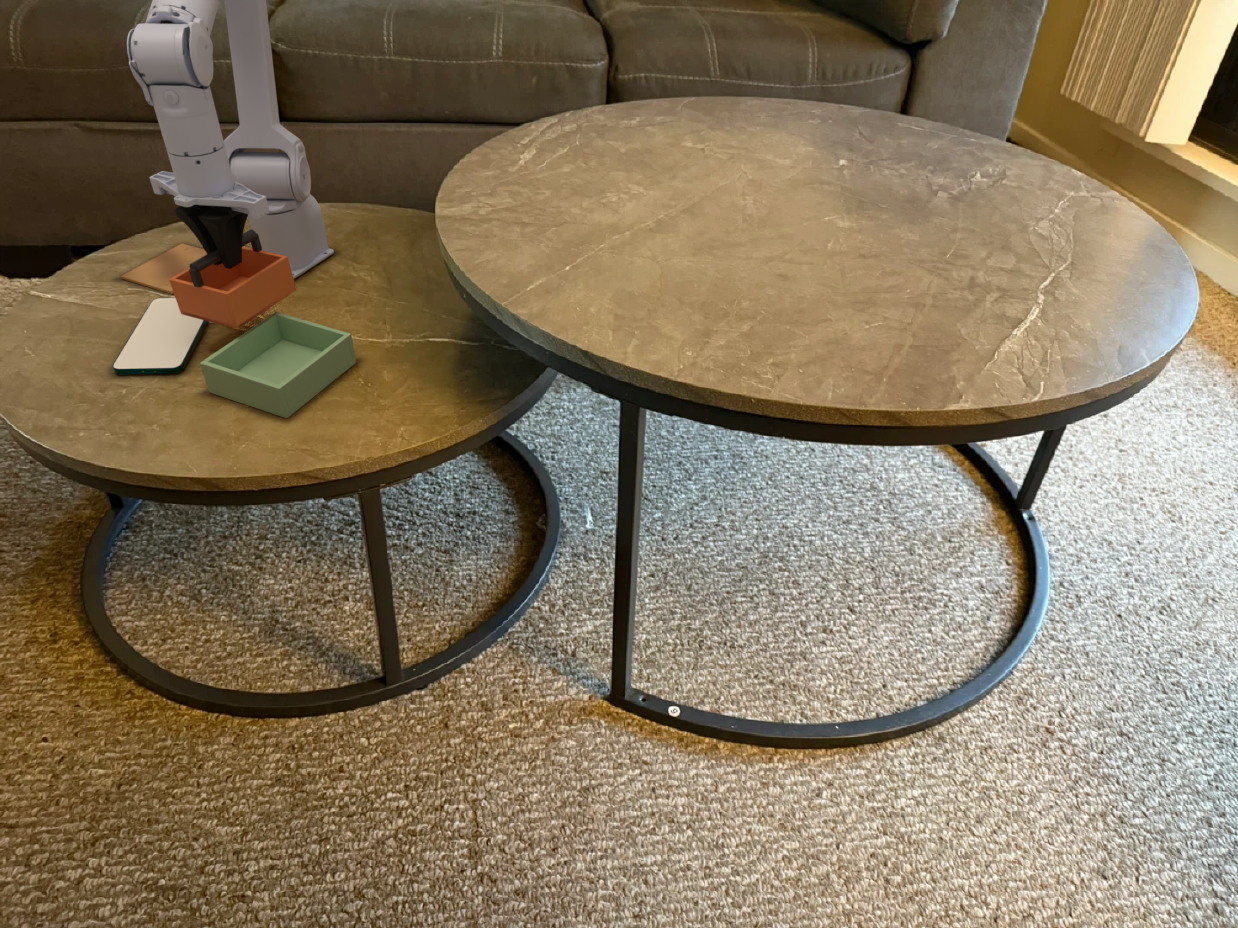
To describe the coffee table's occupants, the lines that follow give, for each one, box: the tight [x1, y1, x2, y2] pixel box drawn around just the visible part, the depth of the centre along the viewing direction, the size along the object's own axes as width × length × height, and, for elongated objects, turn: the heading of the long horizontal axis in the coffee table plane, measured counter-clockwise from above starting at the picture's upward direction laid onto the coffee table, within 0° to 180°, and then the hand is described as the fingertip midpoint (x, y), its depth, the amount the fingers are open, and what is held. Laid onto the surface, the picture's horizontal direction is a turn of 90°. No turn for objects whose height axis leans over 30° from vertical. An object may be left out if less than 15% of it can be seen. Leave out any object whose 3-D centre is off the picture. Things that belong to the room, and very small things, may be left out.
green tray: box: [199, 311, 357, 419], centre depth 104 cm, size 12×11×4 cm
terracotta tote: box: [169, 228, 297, 330], centre depth 105 cm, size 10×9×7 cm
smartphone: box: [112, 296, 209, 375], centre depth 111 cm, size 8×1×16 cm
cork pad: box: [120, 242, 207, 295], centre depth 124 cm, size 11×9×1 cm
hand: (227, 263), depth 105 cm, fingers closed on terracotta tote
